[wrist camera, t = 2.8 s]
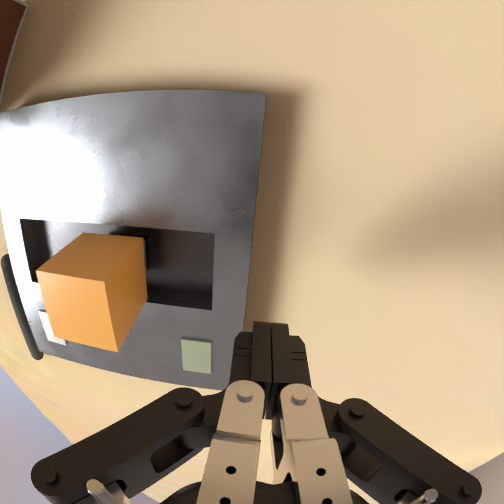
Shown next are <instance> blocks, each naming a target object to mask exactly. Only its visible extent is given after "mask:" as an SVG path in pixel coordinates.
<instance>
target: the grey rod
mask: <svg viewBox="0 0 504 504" xmlns="http://www.w3.org/2000/svg"><path fill="white" fill-rule="evenodd" d="M1 267H2V270H3V274H4V278H5V282H6V285H7V289H8V292H9V295H10V298H11V302H12V305H13V308H14V311H15V314H16V316H17V319H18V322H19V325H20V328H21V330H22V333H23V335H24V338H25V340H26V343H27V345H28V348H29V350H30V353H31V355H32V357H33V358H34V359H36V360H40V359H42V358H43V355H44V353H43V352H41V351H39V349H38V346H37V344H36V341H35V339H34V336H33V333H32V331H31V328H30V325H29V322H28V319H27V316H26V313H25V310H24V307H23V304H22V301H21V297H20V294H19V291H18V287H17V283H16V280H15V276H14V272H13V268H12V264H11V260H10V255H9V254H6V255H4V256H3V257H2V259H1Z"/></svg>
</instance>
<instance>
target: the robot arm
mask: <svg viewBox="0 0 504 504" xmlns="http://www.w3.org/2000/svg"><path fill="white" fill-rule="evenodd" d="M264 416H265V419H269V420H272V429H271V432H270V441H271V451H272V461H273V470H274V478H273V484H267V483H263V482H259V481H256V477H257V469H258V461H259V452H260V442H261V440H260V434H261V425H262V419H264ZM205 447H210V450H209V454H208V458H207V462H206V466H205V470H204V474H203V478H202V481H201V482H196V483H193V484H190V485H188V486H185V487H183V488H181V489H180V490H178V491H176V492H175V493H173V494H172V495H171V496H169V497H168V498H167V499H165V500H164V501H163V502H161V503H160V504H369V503H368V502H367V501H365V500H364V499H363V498H362V497H361V496H359V495H358V494H357V493H355V492H354V491H352V490H350V489H349V486H348V482H347V478H348V479H349V480H350V481H352V482H353V483H354V484H355V485H357V486H358V487H359V488H360V489H362V490H363V491H364V492H365V493H367V494H368V495H369V496H370V497H372V498H373V499H374V500H376V501H377V502H378V503H379V504H476V503H477V502H478V500H479V499H480V497H481V493H482V488H481V484H480V482H479V481H478V479H476V478H475V477H474V476H472V475H471V474H469V473H468V472H466V471H465V470H463V469H462V468H460V467H458V466H457V465H455V464H454V463H452V462H451V461H449V460H448V459H446V458H445V457H443V456H442V455H441V454H439V453H438V452H436V451H435V450H433V449H432V448H430V447H429V446H427V445H426V444H425V443H423V442H422V441H420V440H419V439H417V438H416V437H415V436H413V435H412V434H410V433H409V432H408V431H406V430H405V429H403V428H402V427H401V426H399V425H398V424H396V423H395V422H394V421H392V420H391V419H389V418H388V417H387V416H385V415H384V414H383V413H381V412H380V411H379V410H377V409H376V408H374V407H373V406H372V405H370V404H369V403H368V402H366V401H364V400H362V399H358V398H350V399H347V400H345V401H343V402H342V403H341V405H340V404H336V403H332V402H328V401H325V400H323V399H321V398H320V397H318V396H317V393H316V392H315V391H314V390H313V389H312V386H311V381H310V374H309V368H308V361H307V355H306V349H305V344H304V342H303V341H302V340H301V338H300V337H299V336H291V335H289V329H288V324H283V323H271V325H270V323H269V322H258V321H253V328H252V332H241V331H240V332H239V334H238V335H237V336H236V337H235V339H234V347H233V356H232V363H231V372H230V380H229V384H228V386H227V387H226V388H225V389H224V390H223V391H221V392H219V393H217V394H213V395H207V396H202V395H201V394H200V393H199V392H197V391H196V390H194V389H191V388H177V389H174V390H172V391H170V392H168V393H167V394H165V395H163V396H162V397H160V398H158V399H156V400H155V401H153V402H151V403H150V404H148V405H146V406H144V407H143V408H141V409H139V410H137V411H136V412H134V413H132V414H130V415H129V416H127V417H125V418H123V419H121V420H119V421H118V422H116V423H114V424H112V425H110V426H108V427H107V428H105V429H103V430H101V431H99V432H97V433H95V434H93V435H91V436H89V437H87V438H85V439H83V440H81V441H80V442H78V443H76V444H73V445H71V446H69V447H68V448H65V449H63V450H61V451H59V452H57V453H55V454H53V455H51V456H49V457H47V458H45V459H42V460H40V461H39V462H37V463H36V464H35V465H34V467H33V468H32V471H31V480H32V483H33V485H34V486H35V488H36V489H37V490H38V491H39V492H40V493H41V494H43V495H44V496H45V497H46V499H47V500H49V501H50V502H51V503H52V504H131V503H130V501H129V499H130V498H132V497H133V496H135V495H136V494H138V493H140V492H142V491H143V490H145V489H146V488H148V487H150V486H151V485H153V484H154V483H156V482H157V481H159V480H160V479H162V478H163V477H165V476H166V475H168V474H169V473H171V472H172V471H174V470H175V469H177V468H178V467H180V466H181V465H182V464H184V463H185V462H187V461H188V460H189V459H191V458H192V457H194V456H195V455H196V454H198V453H199V452H200V451H202V450H203V448H205ZM346 477H347V478H346Z"/></svg>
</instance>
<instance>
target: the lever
mask: <svg viewBox="0 0 504 504" xmlns="http://www.w3.org/2000/svg"><path fill="white" fill-rule="evenodd" d="M36 274H37V278H38V282H39V286H40V290H41V294H42V297H43V301H44V305H45V308H46V312H47V315H48V318H49V321H50V325H51V328H52V331H53V334H54V337H57V338H61V339H65V340H68V341H72V342H76V343H80V344H84V345H88V346H92V347H97V348H101V349H105V350H110V351H115V352H118V351H119V350H120V348H121V346H122V344H123V342H124V340H125V338H126V337H127V335H128V333H129V331H130V329H131V327H132V326H133V324H134V322H135V320H136V318H137V317H138V315H139V313H140V311H141V309H142V308H143V306H144V304H145V302H146V301H147V299H148V297H147V286H146V275H147V262H146V245H145V239H143V238H141V237H130V236H119V235H108V234H97V233H86V232H84V233H82V234H81V235H80V236H78V237H77V238H76V239H74V240H73V241H72V242H70V243H69V244H68V245H67V246H65V247H64V248H63V249H61V250H60V251H59V252H58V253H56V254H55V255H54V256H53V257H51V258H50V259H49V260H48V261H47V262H45V263H44V264H43V265H42V266H40V267H39V268H38V269H37V270H36Z"/></svg>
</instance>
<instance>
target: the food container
mask: <svg viewBox="0 0 504 504" xmlns="http://www.w3.org/2000/svg"><path fill="white" fill-rule="evenodd" d="M29 6H30V4H28V3H26V2H24V1H22V0H0V107H1V101H2V96H3V91H4V86H5V82H6V78H7V74H8V70H9V66H10V62H11V58H12V55H13V51H14V48H15V45H16V42H17V39H18V36H19V33H20V30H21V27H22V24H23V21H24V19H25V16H26V13H27V11H28V8H29Z"/></svg>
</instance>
